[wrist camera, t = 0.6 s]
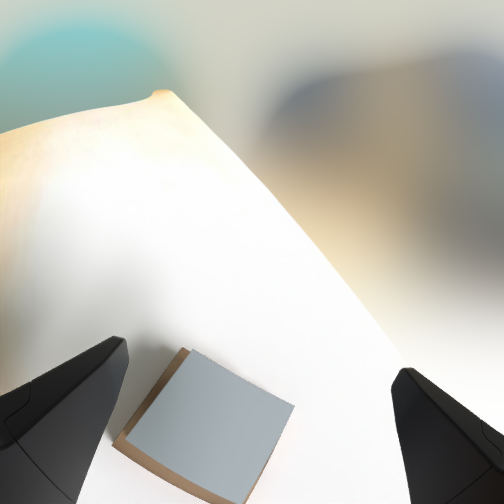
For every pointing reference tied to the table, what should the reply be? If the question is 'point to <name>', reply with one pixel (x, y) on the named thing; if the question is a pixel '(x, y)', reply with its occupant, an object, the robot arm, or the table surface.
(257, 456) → the grey top slab
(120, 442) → the walnut base slab
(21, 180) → the table surface
